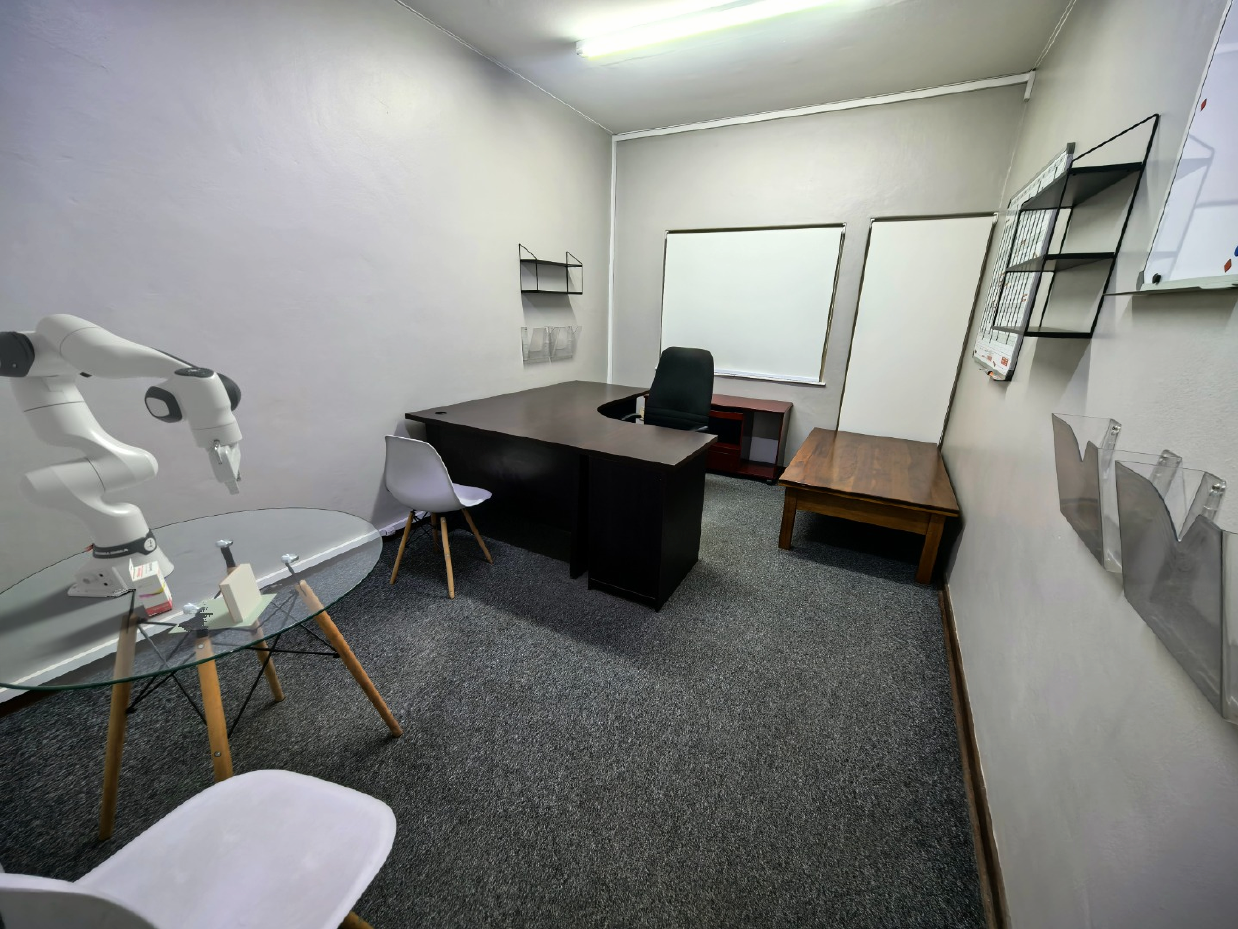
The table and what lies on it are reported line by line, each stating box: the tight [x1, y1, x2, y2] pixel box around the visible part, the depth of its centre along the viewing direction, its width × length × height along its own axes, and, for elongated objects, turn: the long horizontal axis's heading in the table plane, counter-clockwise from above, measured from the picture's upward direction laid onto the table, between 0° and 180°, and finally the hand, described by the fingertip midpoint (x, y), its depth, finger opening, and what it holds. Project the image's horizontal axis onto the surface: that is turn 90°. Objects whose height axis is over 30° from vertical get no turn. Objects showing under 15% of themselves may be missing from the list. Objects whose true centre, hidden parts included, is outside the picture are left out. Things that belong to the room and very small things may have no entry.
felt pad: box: [168, 593, 278, 634], centre depth 122 cm, size 19×13×1 cm
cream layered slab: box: [218, 563, 262, 622], centre depth 121 cm, size 2×9×12 cm, turn 9°
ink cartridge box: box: [129, 558, 173, 616], centre depth 122 cm, size 9×5×15 cm, turn 45°
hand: (236, 486), depth 116 cm, fingers open, 8 cm apart
